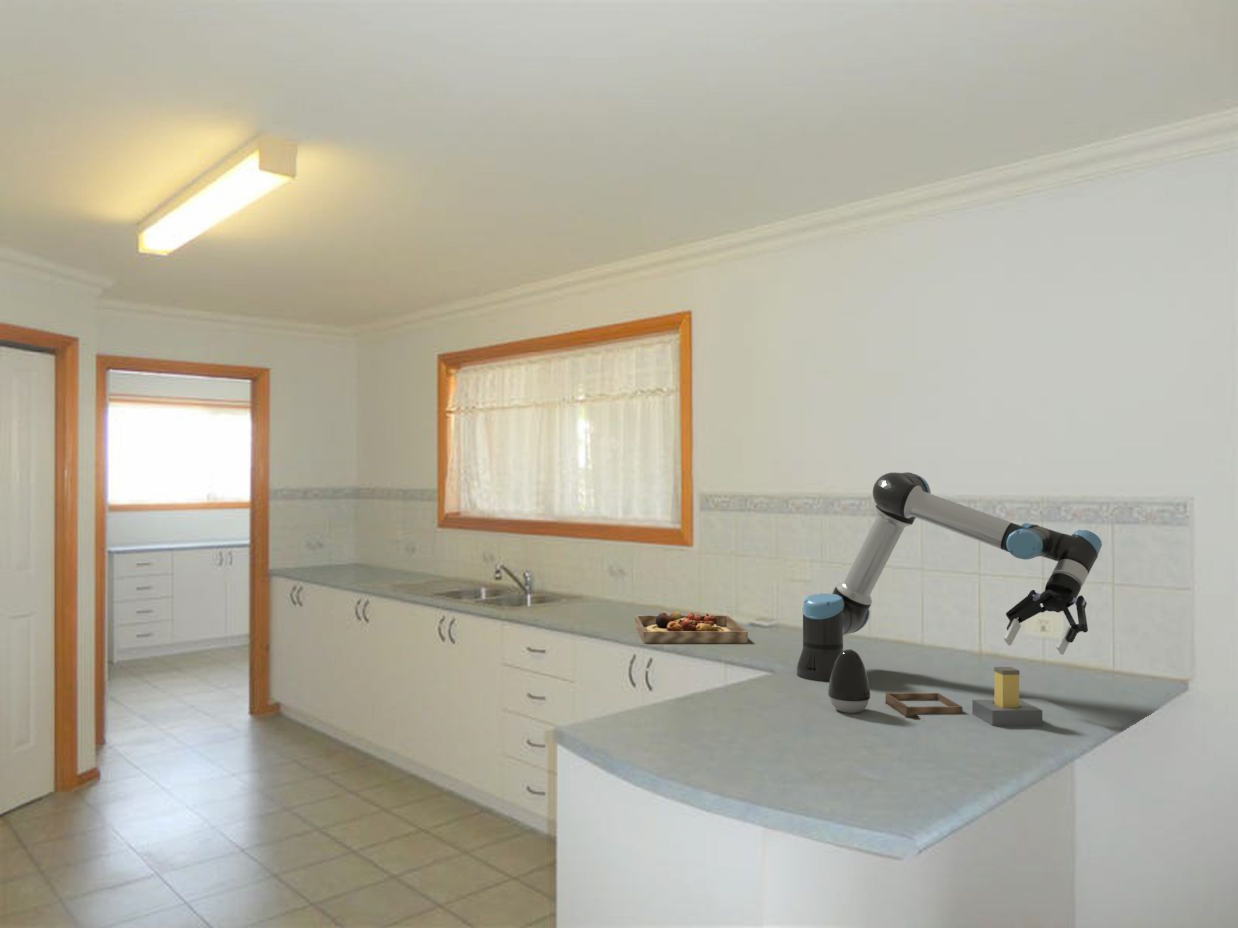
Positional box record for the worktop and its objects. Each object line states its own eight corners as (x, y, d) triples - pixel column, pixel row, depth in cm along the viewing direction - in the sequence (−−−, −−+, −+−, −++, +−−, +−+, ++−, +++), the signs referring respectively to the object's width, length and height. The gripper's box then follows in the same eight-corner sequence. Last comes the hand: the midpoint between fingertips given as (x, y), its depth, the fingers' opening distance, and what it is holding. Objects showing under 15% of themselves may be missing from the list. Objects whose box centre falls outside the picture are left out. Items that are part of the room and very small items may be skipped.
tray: (906, 717, 214) (906, 707, 214) (885, 702, 228) (885, 693, 228) (962, 717, 215) (962, 706, 215) (938, 702, 229) (938, 692, 229)
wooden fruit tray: (643, 643, 308) (643, 631, 308) (634, 625, 345) (634, 615, 345) (747, 642, 310) (747, 631, 310) (728, 625, 347) (728, 615, 347)
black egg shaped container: (871, 707, 223) (871, 647, 224) (868, 717, 213) (869, 654, 214) (830, 703, 227) (830, 644, 227) (826, 713, 217) (826, 651, 217)
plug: (1002, 721, 207) (1002, 670, 207) (994, 717, 211) (994, 666, 211) (1019, 721, 207) (1019, 670, 208) (1010, 717, 211) (1010, 666, 212)
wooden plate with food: (719, 645, 307) (720, 621, 307) (633, 637, 318) (634, 614, 318) (739, 632, 337) (740, 611, 337) (660, 626, 348) (660, 605, 348)
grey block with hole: (992, 729, 204) (992, 710, 204) (972, 718, 214) (972, 699, 214) (1042, 729, 205) (1042, 710, 205) (1020, 717, 215) (1020, 699, 215)
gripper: (1121, 596, 215) (1089, 664, 207) (1026, 586, 236) (992, 647, 227) (1110, 576, 212) (1077, 644, 204) (1014, 567, 233) (980, 628, 224)
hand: (1032, 646), depth 216 cm, fingers open, 13 cm apart
